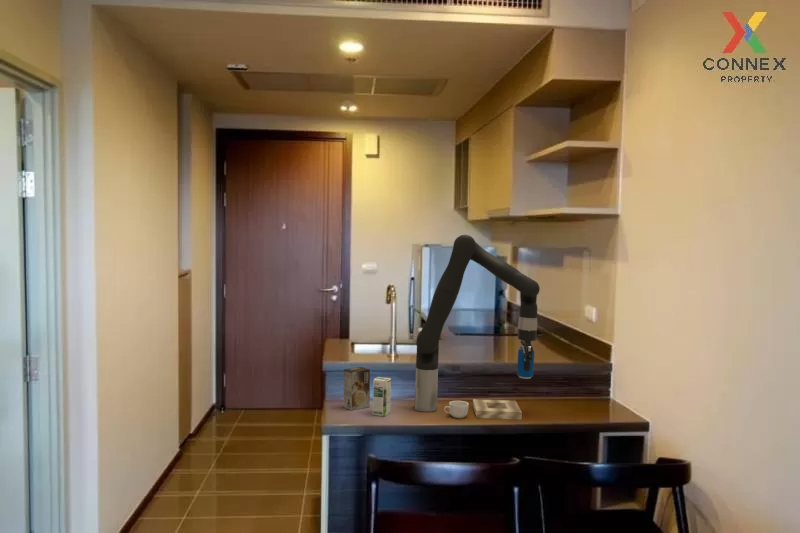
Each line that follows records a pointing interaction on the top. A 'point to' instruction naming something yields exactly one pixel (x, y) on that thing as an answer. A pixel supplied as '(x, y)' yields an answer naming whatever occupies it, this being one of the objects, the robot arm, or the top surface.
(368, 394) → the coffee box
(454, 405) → the teacup
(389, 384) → the syrup box
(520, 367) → the beverage can
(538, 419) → the top surface
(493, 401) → the holder plate
